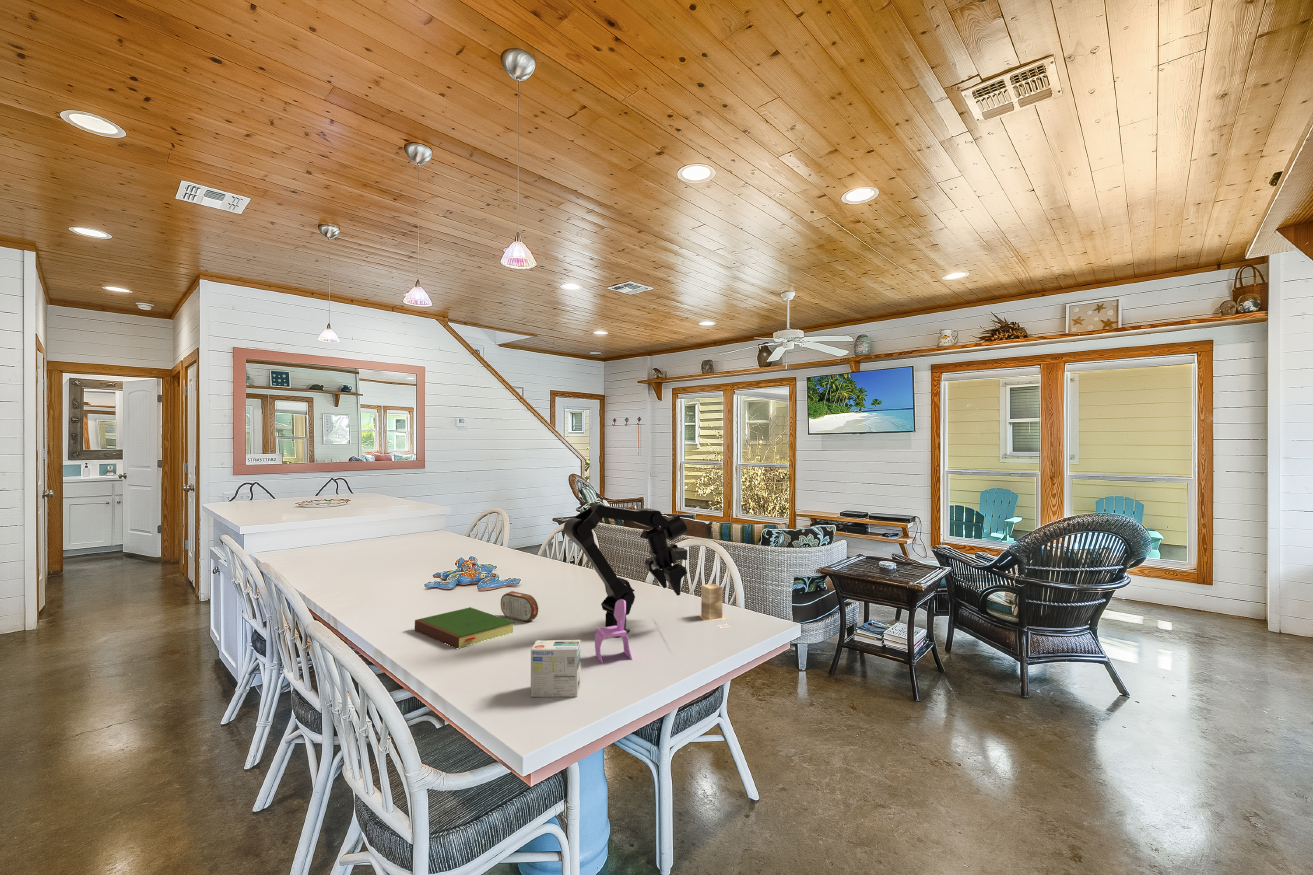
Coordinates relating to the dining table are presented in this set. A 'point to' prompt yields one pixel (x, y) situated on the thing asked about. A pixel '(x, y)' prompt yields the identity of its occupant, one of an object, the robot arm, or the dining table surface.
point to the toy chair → (614, 630)
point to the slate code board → (713, 619)
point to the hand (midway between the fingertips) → (671, 591)
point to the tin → (519, 606)
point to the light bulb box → (555, 668)
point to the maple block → (711, 601)
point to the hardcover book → (463, 627)
